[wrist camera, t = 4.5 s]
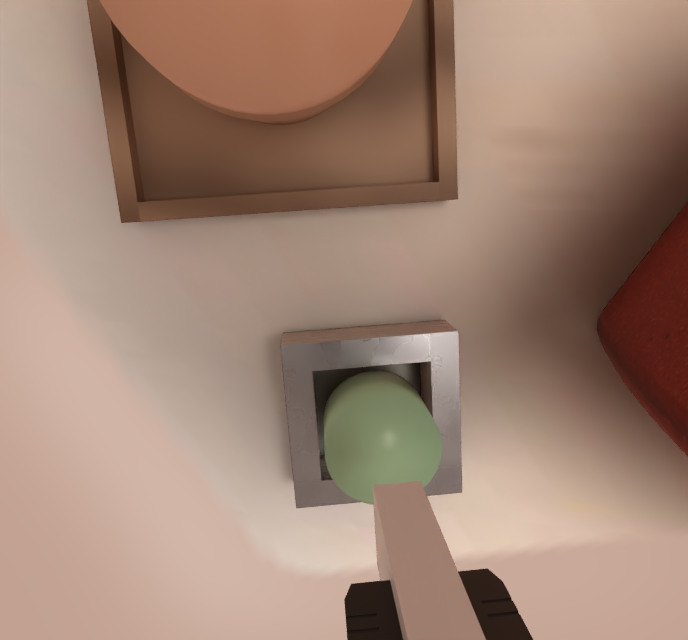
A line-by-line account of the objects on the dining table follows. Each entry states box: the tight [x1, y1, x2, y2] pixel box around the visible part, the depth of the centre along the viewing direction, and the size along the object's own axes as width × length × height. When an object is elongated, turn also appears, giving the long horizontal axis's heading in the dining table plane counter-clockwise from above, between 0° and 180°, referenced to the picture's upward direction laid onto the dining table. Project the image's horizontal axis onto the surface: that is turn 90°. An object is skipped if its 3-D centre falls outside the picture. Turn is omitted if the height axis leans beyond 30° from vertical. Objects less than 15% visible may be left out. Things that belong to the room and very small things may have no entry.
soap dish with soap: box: [281, 320, 462, 508], centre depth 25 cm, size 8×8×2 cm
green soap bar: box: [323, 370, 442, 504], centre depth 23 cm, size 5×5×3 cm
